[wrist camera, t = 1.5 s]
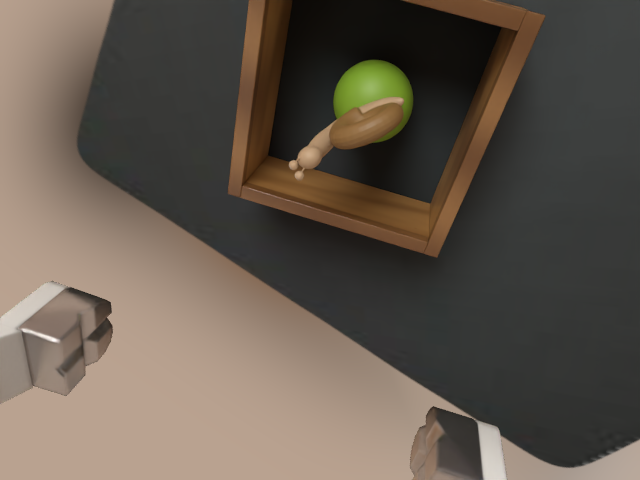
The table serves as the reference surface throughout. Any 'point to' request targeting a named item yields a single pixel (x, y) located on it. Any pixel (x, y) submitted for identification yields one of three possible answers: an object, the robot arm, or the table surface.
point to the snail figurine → (362, 111)
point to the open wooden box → (349, 196)
